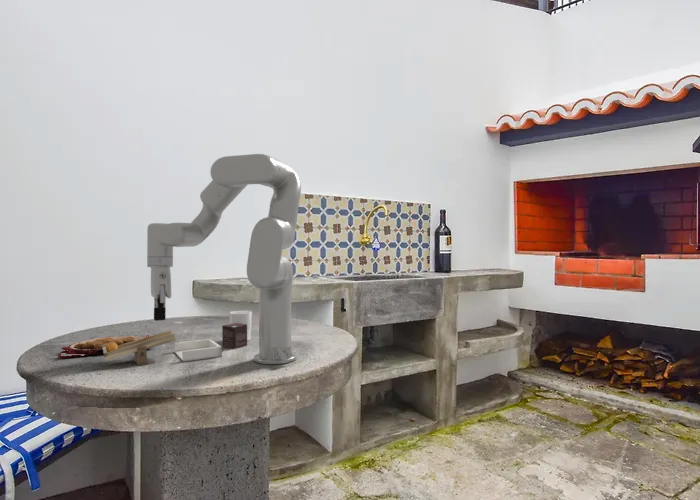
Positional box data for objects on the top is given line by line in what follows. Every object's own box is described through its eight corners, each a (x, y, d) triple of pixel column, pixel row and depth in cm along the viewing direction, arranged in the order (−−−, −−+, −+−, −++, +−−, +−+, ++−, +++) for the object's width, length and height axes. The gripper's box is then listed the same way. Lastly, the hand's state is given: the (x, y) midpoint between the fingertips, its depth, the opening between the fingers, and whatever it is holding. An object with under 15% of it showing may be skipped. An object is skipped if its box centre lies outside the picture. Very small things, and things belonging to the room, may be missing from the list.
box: (235, 343, 160) (234, 322, 160) (247, 345, 157) (247, 324, 157) (221, 347, 155) (221, 325, 154) (234, 349, 152) (234, 327, 151)
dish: (222, 356, 141) (221, 346, 141) (183, 361, 135) (183, 351, 135) (210, 347, 153) (210, 338, 153) (174, 352, 147) (174, 342, 147)
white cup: (249, 342, 162) (249, 313, 162) (227, 342, 162) (226, 313, 162) (254, 337, 170) (254, 310, 170) (233, 337, 170) (232, 310, 170)
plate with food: (153, 352, 150) (153, 341, 150) (58, 360, 138) (58, 348, 139) (149, 339, 172) (149, 330, 172) (66, 345, 161) (66, 335, 161)
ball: (119, 351, 132) (116, 341, 131) (107, 355, 130) (105, 344, 130) (118, 349, 134) (116, 339, 134) (106, 352, 133) (104, 343, 132)
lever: (175, 340, 138) (172, 329, 138) (105, 361, 129) (102, 348, 128) (168, 333, 149) (165, 322, 149) (103, 351, 139) (100, 340, 139)
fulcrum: (146, 364, 133) (146, 346, 133) (137, 365, 132) (137, 347, 132) (143, 358, 140) (142, 341, 140) (134, 359, 139) (134, 342, 139)
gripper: (177, 263, 141) (176, 322, 141) (168, 260, 153) (168, 315, 154) (150, 263, 137) (150, 324, 137) (144, 261, 149) (143, 317, 150)
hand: (159, 319), depth 145 cm, fingers closed
